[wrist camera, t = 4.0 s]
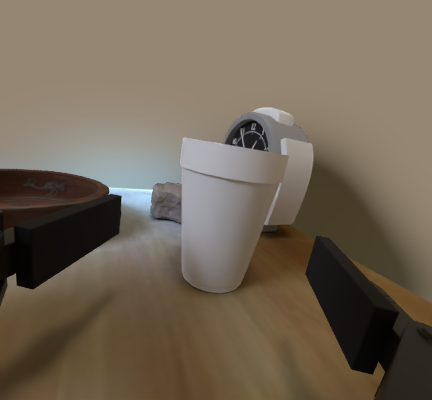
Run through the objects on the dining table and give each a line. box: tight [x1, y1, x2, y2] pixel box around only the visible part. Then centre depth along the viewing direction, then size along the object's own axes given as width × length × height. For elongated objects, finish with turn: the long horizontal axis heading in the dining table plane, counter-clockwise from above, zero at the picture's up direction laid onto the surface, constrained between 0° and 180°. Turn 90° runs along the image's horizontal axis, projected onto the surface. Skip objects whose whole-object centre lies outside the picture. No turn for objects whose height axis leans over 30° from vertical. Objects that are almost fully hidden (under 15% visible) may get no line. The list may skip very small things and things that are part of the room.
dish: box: [0, 169, 121, 230], centre depth 27 cm, size 17×22×5 cm
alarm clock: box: [222, 107, 313, 232], centre depth 40 cm, size 18×8×20 cm, turn 29°
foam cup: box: [180, 138, 289, 293], centre depth 22 cm, size 10×9×13 cm
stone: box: [150, 182, 182, 223], centre depth 36 cm, size 8×10×6 cm
